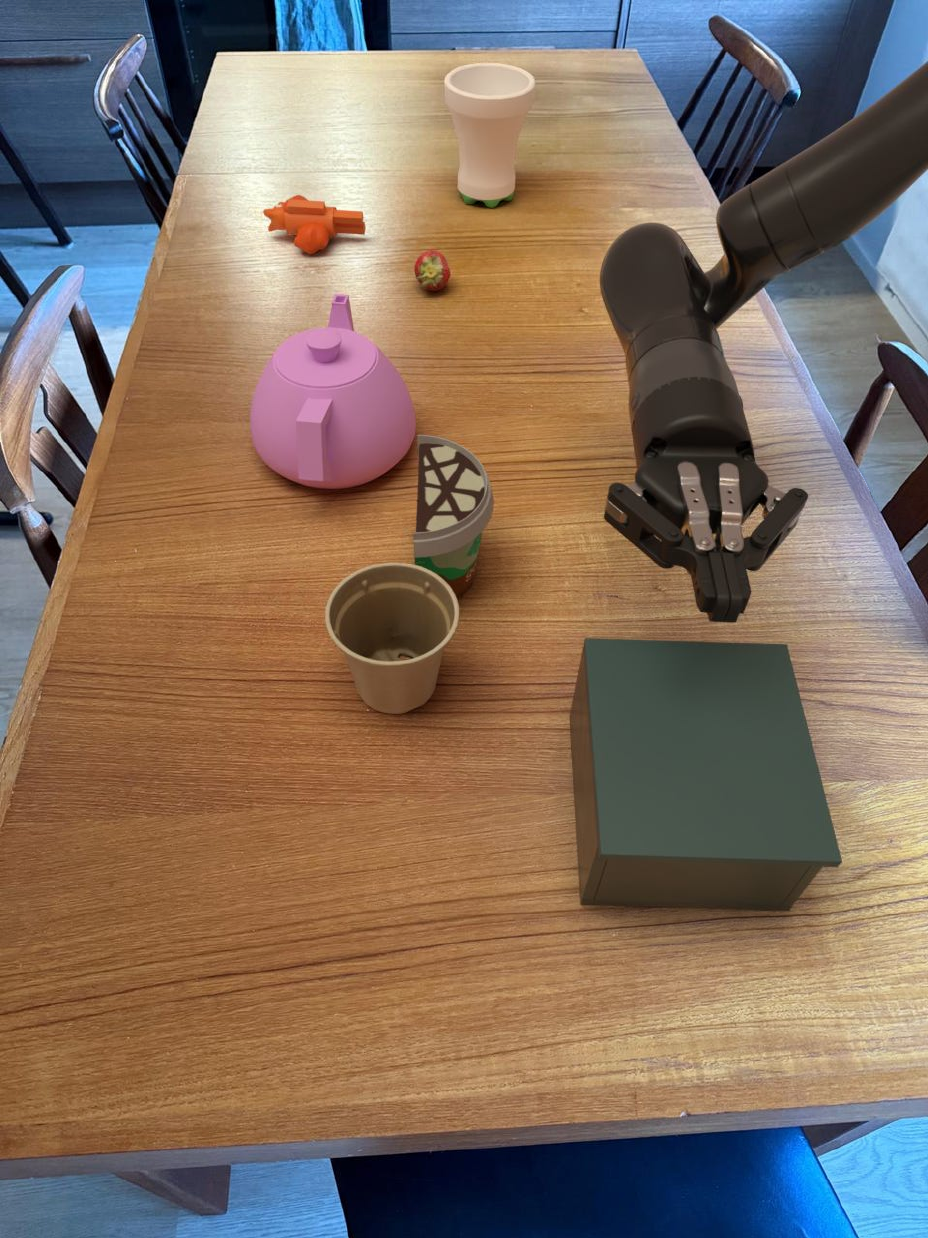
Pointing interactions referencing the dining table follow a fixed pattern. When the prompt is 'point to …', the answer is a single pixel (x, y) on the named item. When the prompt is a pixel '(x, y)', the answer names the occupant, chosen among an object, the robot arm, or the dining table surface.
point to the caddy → (664, 879)
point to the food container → (450, 511)
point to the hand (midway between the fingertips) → (726, 613)
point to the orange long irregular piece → (313, 222)
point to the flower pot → (393, 632)
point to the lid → (703, 755)
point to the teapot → (331, 407)
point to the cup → (488, 126)
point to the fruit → (432, 270)
